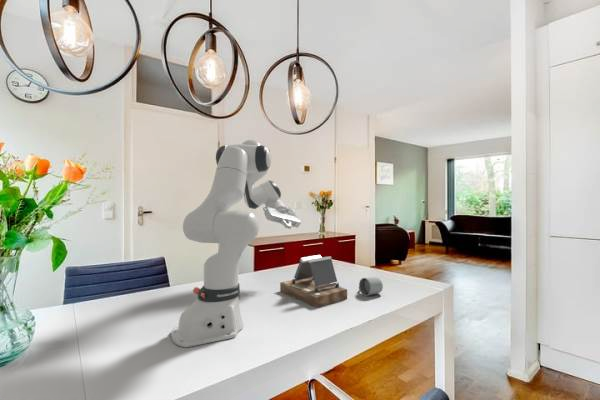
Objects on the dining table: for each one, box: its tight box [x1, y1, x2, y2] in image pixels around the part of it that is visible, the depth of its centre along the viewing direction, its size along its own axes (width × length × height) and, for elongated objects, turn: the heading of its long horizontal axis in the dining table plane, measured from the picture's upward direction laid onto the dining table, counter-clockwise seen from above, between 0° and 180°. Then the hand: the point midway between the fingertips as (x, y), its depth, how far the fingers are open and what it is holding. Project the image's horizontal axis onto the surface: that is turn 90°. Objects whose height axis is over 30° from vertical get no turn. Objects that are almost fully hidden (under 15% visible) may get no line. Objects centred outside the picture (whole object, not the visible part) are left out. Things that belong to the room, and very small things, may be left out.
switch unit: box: [279, 277, 348, 308], centre depth 133 cm, size 17×26×6 cm, turn 37°
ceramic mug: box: [358, 276, 384, 297], centre depth 136 cm, size 11×8×8 cm
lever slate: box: [309, 256, 338, 287], centre depth 130 cm, size 11×2×11 cm, turn 127°
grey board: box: [293, 254, 322, 280], centre depth 138 cm, size 11×2×11 cm, turn 127°
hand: (288, 227), depth 147 cm, fingers closed
